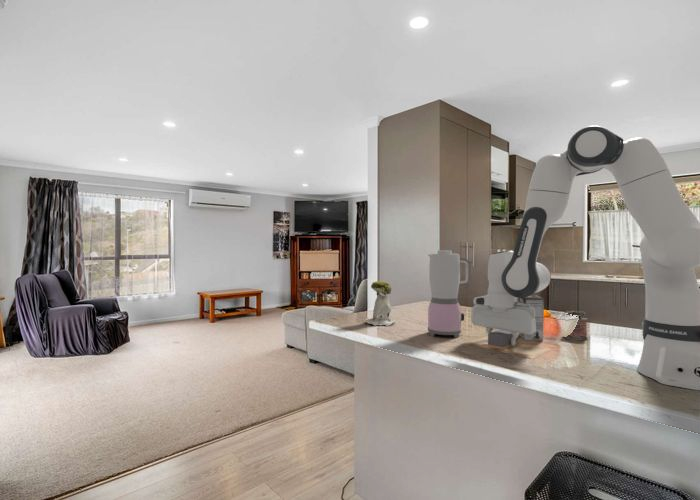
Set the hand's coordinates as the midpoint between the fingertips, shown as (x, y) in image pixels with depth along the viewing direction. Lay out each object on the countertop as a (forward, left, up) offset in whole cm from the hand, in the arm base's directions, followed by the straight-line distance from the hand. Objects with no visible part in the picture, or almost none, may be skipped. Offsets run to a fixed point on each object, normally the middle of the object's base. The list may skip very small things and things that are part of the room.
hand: (502, 343), depth 120 cm
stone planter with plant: (+54, 0, -2) cm, 54 cm away
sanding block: (0, 0, -1) cm, 1 cm away
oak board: (-2, 0, -2) cm, 3 cm away
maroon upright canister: (-11, -34, -2) cm, 36 cm away
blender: (+23, -5, -2) cm, 24 cm away
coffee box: (-2, -18, -2) cm, 18 cm away
